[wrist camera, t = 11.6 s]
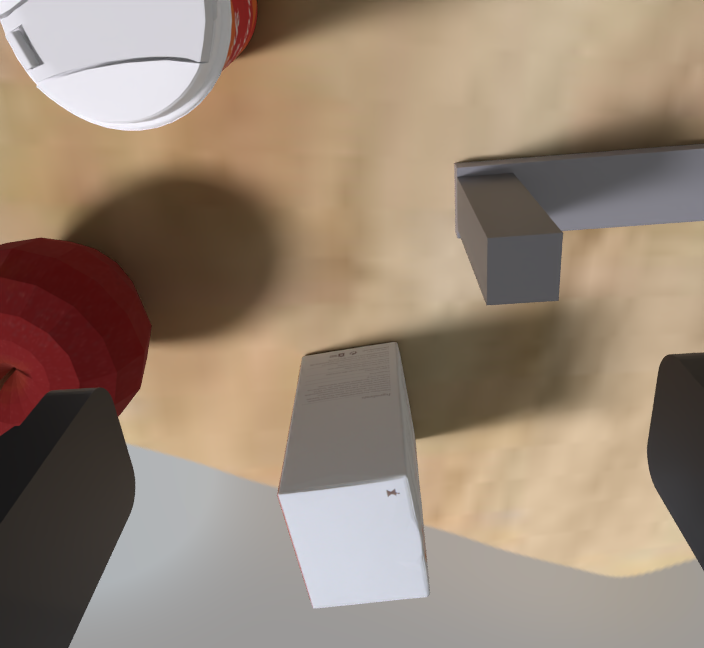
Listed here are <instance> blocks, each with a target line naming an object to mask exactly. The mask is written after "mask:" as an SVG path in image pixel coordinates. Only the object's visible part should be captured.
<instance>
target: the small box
mask: <svg viewBox="0 0 704 648" xmlns="http://www.w3.org/2000/svg"><path fill="white" fill-rule="evenodd" d="M277 496H278V500H279V503H280V506H281V510H282V512H283V516H284V519H285V522H286V525H287V528H288V532H289V535H290V538H291V541H292V544H293V547H294V551H295V554H296V557H297V560H298V564H299V567H300V570H301V573H302V576H303V579H304V582H305V585H306V589H307V591H308V595H309V598H310V601H311V604H312V607H313V608H324V607H334V606H342V605H353V604H361V603H362V604H363V603H371V602H381V601H391V600H400V599H410V598H421V597H428V596H429V594H430V589H429V588H430V587H429V576H428V566H427V556H426V546H425V536H424V525H423V514H422V502H421V494H420V485H419V474H418V463H417V452H416V440H415V434H414V427H413V422H412V416H411V410H410V405H409V399H408V394H407V388H406V383H405V378H404V372H403V367H402V361H401V356H400V352H399V347H398V343H397V342H390V343H383V344H377V345H370V346H364V347H358V348H352V349H345V350H339V351H332V352H327V353H321V354H315V355H308V356H303V357H302V360H301V365H300V371H299V376H298V383H297V389H296V394H295V400H294V405H293V411H292V416H291V422H290V428H289V433H288V439H287V445H286V450H285V456H284V462H283V467H282V473H281V478H280V483H279V488H278V493H277Z"/></svg>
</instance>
